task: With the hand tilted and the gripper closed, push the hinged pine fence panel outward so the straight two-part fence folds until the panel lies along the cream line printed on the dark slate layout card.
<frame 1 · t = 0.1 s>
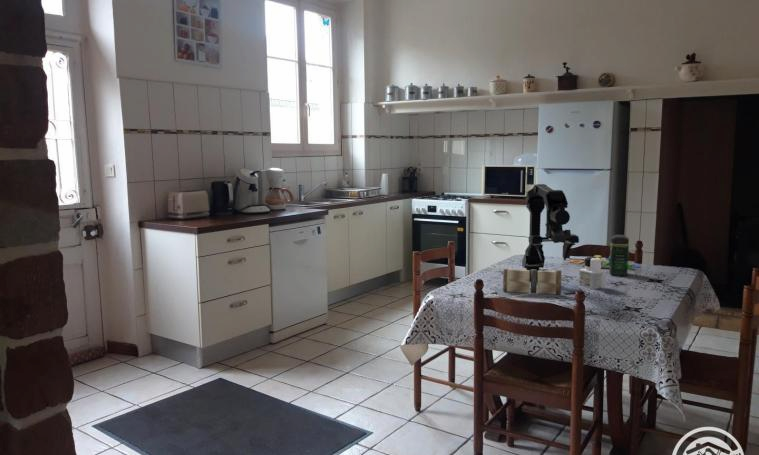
hand: (553, 260, 232), 15 cm above the table, tool pointing down, fingers open, 9 cm apart
coffee jar: (618, 274, 271), on the table
shape sorter: (603, 266, 293), on the table
container: (592, 288, 247), on the table
fixed fence section: (533, 293, 237), resting on layout card
hinged fence panel: (519, 280, 238), point 6 cm above the table, hinge at 0.0°
layout card: (528, 293, 239), on the table
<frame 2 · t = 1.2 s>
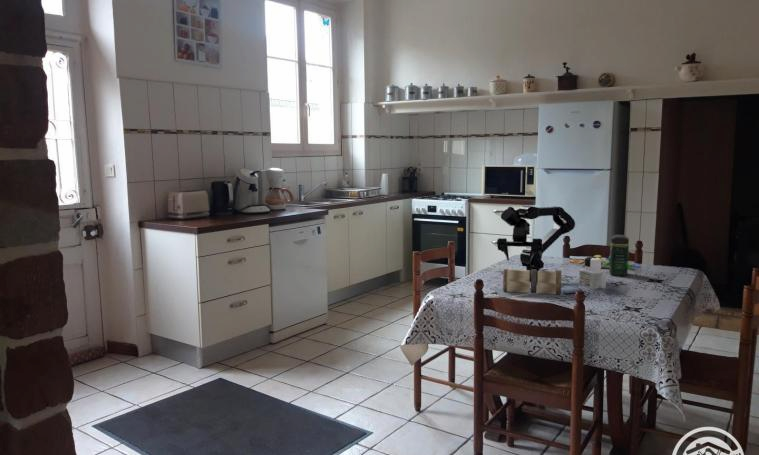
hand: (518, 260, 244), 12 cm above the table, tool tilted 45°, fingers open, 9 cm apart
nothing on the table moved.
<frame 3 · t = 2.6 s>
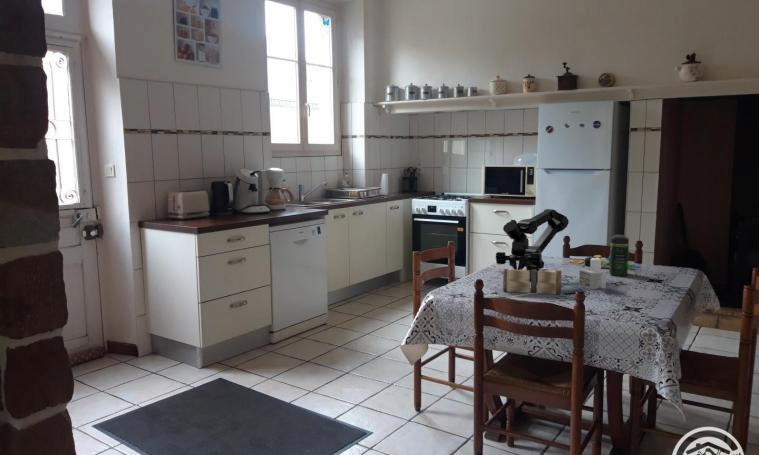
hand: (516, 275, 243), 7 cm above the table, tool tilted 45°, fingers closed
nothing on the table moved.
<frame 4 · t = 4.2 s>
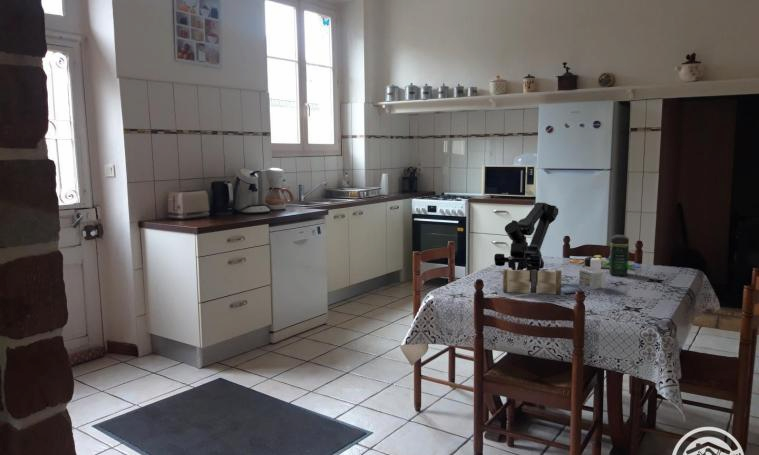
hand: (515, 277, 239), 7 cm above the table, tool tilted 45°, fingers closed, pressing on hinged fence panel
hinged fence panel: (519, 280, 237), point 6 cm above the table, hinge at 6.0°, touching gripper
everything else where it was.
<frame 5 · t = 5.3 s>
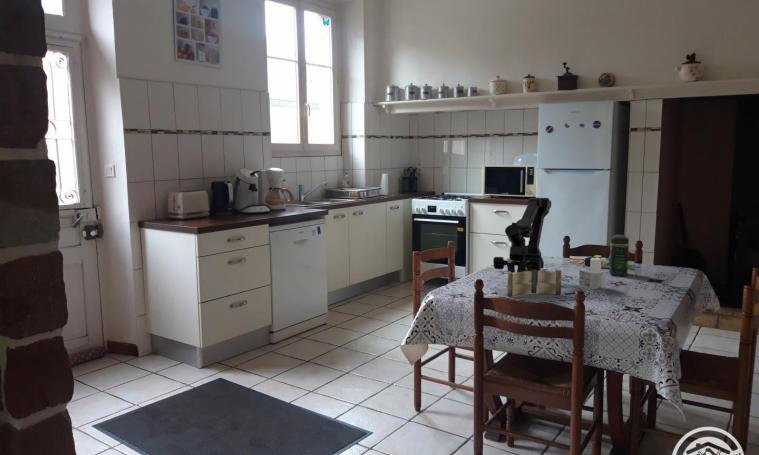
hand: (515, 281, 235), 6 cm above the table, tool tilted 45°, fingers closed
hinged fence panel: (522, 282, 234), point 6 cm above the table, hinge at 39.0°, touching gripper
everything else where it was.
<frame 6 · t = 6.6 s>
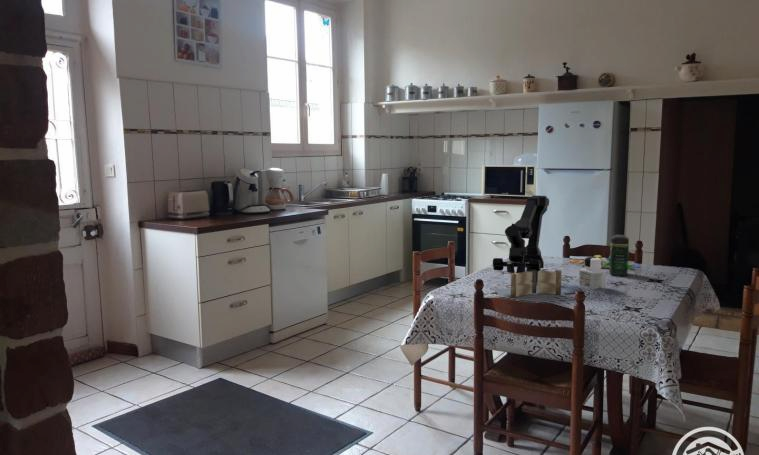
hand: (514, 282, 233), 6 cm above the table, tool tilted 45°, fingers closed
hinged fence panel: (523, 282, 233), point 6 cm above the table, hinge at 49.2°, touching gripper
everything else where it was.
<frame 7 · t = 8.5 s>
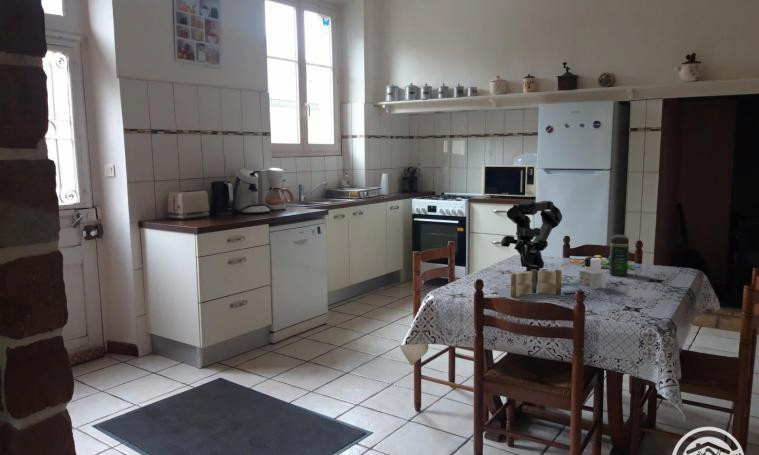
hand: (525, 261, 243), 12 cm above the table, tool tilted 35°, fingers closed
hinged fence panel: (523, 282, 233), point 6 cm above the table, hinge at 49.2°
everything else where it was.
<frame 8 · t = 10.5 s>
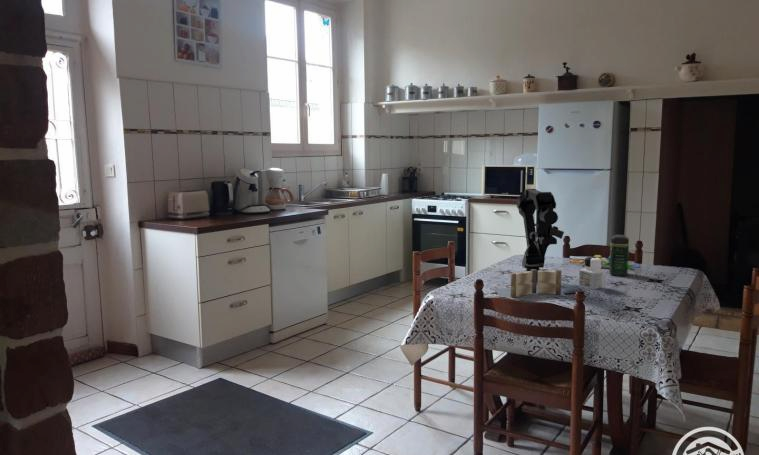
hand: (542, 257, 246), 13 cm above the table, tool pointing down, fingers closed
nothing on the table moved.
at the end: hinged fence panel at +49° (first picture: +0°); container moved 0.2 cm from its start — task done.
